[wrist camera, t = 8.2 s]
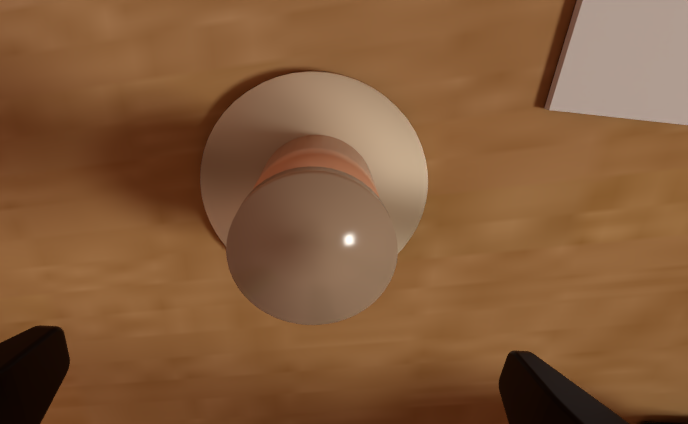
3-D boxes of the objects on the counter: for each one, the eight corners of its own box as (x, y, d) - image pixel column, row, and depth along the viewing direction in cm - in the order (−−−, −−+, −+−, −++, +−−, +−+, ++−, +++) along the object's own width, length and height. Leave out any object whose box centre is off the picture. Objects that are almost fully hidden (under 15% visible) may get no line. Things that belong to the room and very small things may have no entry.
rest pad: (693, 125, 17) (701, 126, 17) (544, 108, 17) (549, 109, 16) (778, -62, 15) (790, -65, 14) (603, -89, 14) (611, -93, 14)
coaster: (404, 286, 20) (407, 293, 20) (207, 273, 19) (204, 279, 19) (445, 85, 16) (449, 86, 16) (200, 57, 15) (195, 58, 15)
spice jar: (367, 247, 18) (384, 329, 13) (256, 238, 18) (226, 319, 13) (383, 138, 16) (411, 183, 11) (259, 126, 16) (225, 165, 11)
